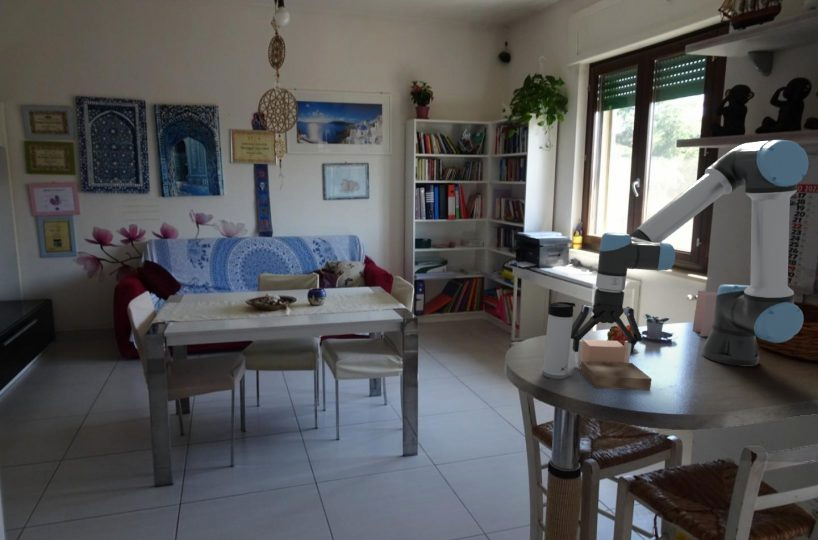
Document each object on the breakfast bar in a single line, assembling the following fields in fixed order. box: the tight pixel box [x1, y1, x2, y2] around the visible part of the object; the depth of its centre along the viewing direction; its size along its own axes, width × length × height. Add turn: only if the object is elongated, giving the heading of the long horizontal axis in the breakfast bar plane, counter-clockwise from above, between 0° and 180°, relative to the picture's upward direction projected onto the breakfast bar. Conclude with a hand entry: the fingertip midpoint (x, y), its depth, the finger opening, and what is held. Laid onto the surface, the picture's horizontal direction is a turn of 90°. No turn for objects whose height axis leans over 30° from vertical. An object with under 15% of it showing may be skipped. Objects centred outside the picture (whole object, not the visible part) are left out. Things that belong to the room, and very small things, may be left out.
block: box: [579, 339, 626, 365], centre depth 155 cm, size 10×6×7 cm, turn 91°
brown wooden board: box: [579, 361, 652, 391], centre depth 147 cm, size 14×12×3 cm
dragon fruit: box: [606, 324, 636, 346], centre depth 175 cm, size 8×8×12 cm
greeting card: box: [692, 290, 717, 337], centre depth 196 cm, size 11×7×15 cm, turn 66°
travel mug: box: [542, 301, 576, 380], centre depth 147 cm, size 6×7×20 cm
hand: (601, 363), depth 156 cm, fingers open, 13 cm apart
